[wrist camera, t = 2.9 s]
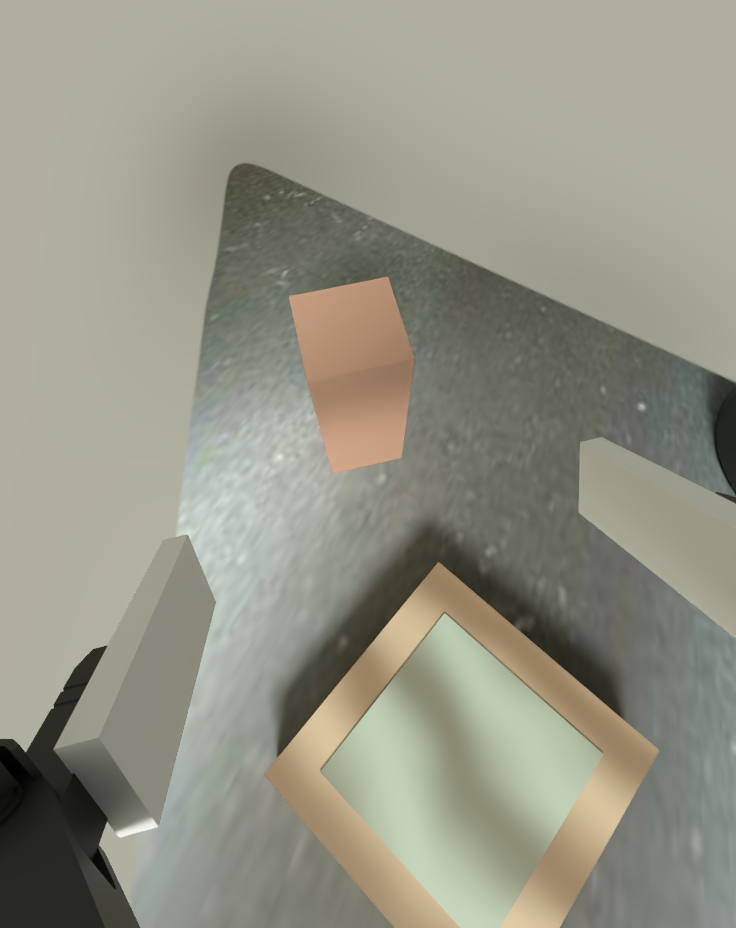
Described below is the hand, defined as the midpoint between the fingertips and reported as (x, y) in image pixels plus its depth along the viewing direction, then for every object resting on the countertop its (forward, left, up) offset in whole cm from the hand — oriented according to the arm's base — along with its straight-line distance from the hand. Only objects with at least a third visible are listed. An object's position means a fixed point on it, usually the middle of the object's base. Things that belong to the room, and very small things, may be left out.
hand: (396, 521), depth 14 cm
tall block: (-6, -8, -15) cm, 18 cm away
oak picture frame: (+5, +9, -15) cm, 18 cm away
